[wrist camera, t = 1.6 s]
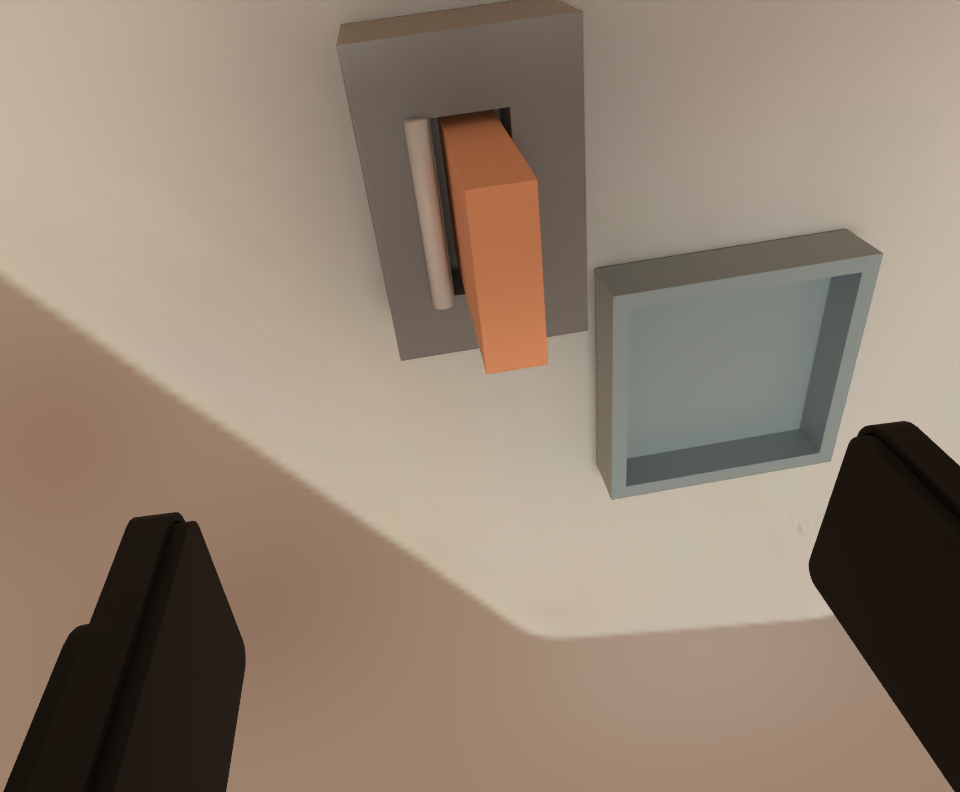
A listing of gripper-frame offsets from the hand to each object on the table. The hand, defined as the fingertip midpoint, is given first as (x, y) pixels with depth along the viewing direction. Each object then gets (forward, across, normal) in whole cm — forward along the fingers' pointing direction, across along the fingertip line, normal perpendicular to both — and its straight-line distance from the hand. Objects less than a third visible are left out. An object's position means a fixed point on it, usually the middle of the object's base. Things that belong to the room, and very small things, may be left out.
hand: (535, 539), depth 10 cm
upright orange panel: (+20, -2, +2) cm, 21 cm away
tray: (+23, -14, +13) cm, 30 cm away
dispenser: (+23, -2, +2) cm, 23 cm away
